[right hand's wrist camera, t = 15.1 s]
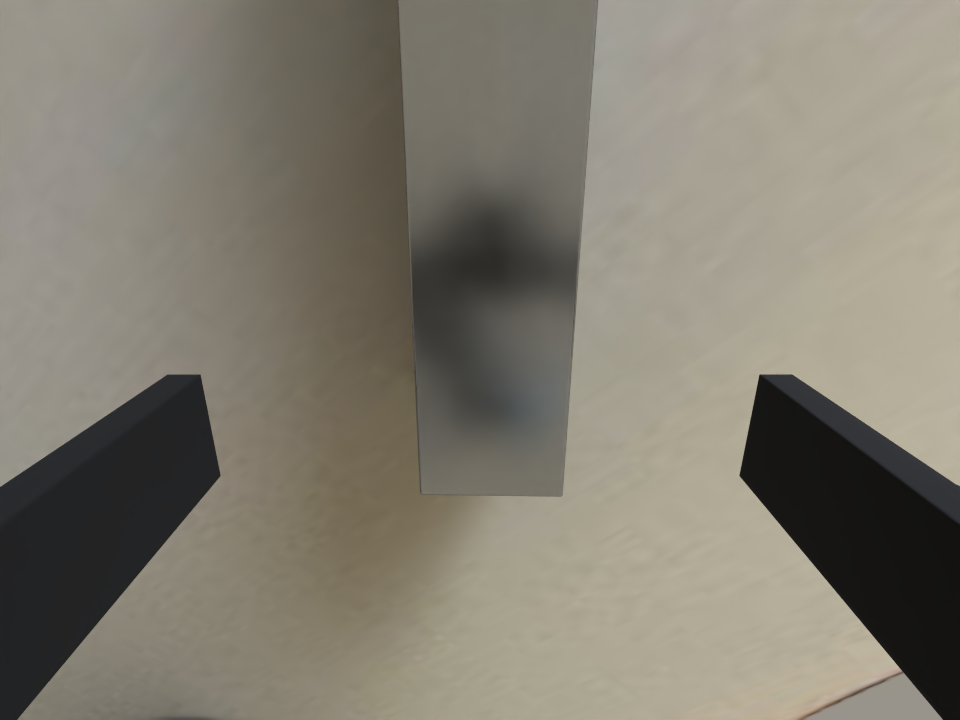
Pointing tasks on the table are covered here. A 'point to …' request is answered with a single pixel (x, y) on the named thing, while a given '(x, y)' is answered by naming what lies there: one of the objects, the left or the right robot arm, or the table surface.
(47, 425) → the table surface
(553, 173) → the bar
